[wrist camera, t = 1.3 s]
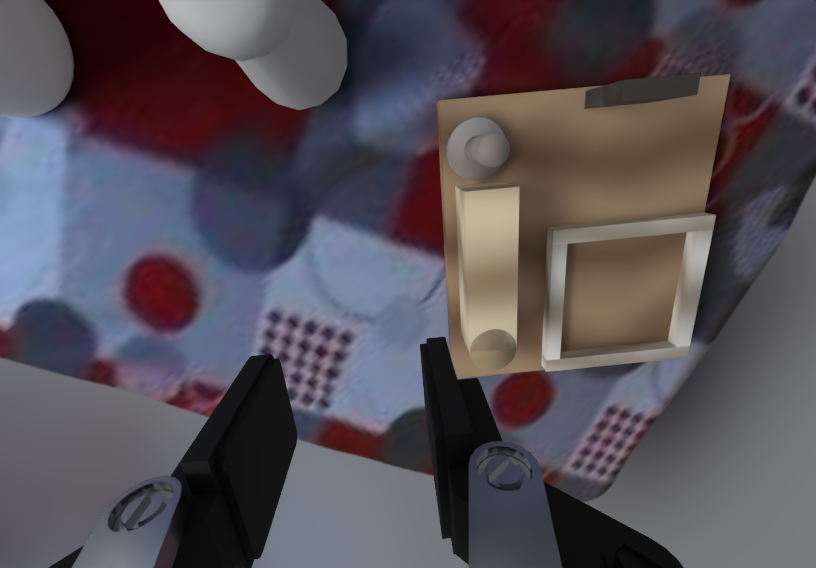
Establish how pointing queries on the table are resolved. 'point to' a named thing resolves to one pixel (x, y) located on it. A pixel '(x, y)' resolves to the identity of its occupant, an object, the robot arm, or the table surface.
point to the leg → (488, 271)
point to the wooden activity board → (592, 214)
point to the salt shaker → (271, 43)
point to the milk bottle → (32, 59)
